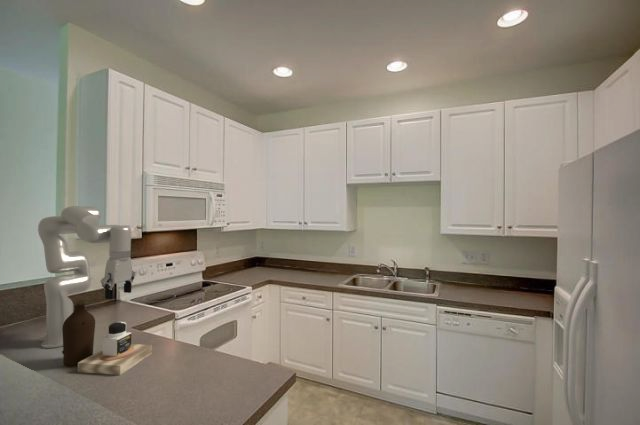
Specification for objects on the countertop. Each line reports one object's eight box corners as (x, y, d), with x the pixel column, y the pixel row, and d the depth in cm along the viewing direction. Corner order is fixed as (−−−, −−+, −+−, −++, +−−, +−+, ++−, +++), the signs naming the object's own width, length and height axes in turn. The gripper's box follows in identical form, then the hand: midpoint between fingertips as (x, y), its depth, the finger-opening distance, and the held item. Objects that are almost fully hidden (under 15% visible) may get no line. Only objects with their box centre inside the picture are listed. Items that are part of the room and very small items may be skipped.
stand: (77, 371, 114) (77, 361, 114) (114, 350, 132) (114, 341, 132) (120, 375, 112) (120, 364, 112) (152, 353, 130) (152, 344, 130)
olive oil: (100, 356, 127) (102, 298, 127) (78, 368, 116) (80, 305, 116) (78, 354, 128) (79, 297, 128) (54, 367, 117) (55, 304, 117)
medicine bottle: (117, 357, 118) (117, 327, 118) (102, 355, 119) (102, 325, 119) (131, 349, 125) (132, 320, 125) (117, 347, 126) (117, 319, 126)
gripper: (127, 252, 134) (126, 289, 133) (93, 257, 116) (92, 300, 116) (142, 252, 133) (141, 290, 133) (111, 258, 115) (109, 302, 115)
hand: (118, 295), depth 124 cm, fingers open, 9 cm apart
